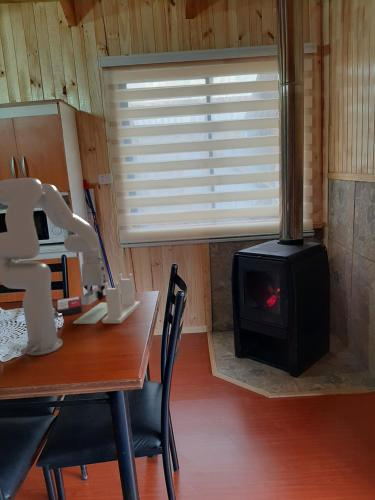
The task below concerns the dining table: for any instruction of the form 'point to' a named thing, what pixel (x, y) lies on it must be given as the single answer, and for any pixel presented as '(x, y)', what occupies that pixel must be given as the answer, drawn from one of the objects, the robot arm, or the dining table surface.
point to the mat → (93, 314)
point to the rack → (113, 300)
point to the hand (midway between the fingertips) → (96, 299)
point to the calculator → (69, 306)
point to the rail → (90, 296)
